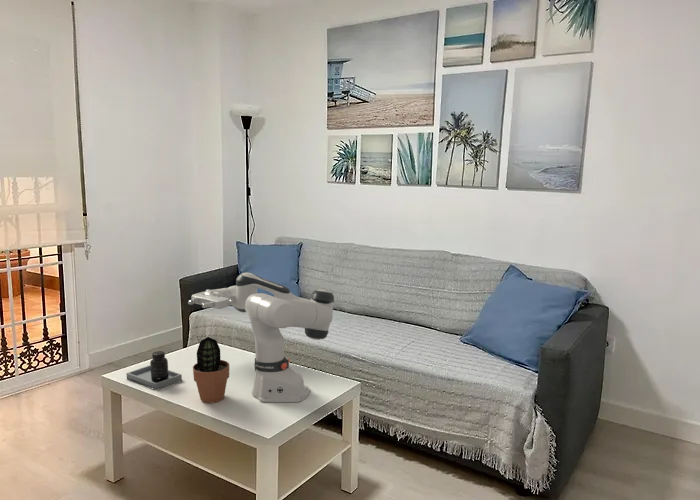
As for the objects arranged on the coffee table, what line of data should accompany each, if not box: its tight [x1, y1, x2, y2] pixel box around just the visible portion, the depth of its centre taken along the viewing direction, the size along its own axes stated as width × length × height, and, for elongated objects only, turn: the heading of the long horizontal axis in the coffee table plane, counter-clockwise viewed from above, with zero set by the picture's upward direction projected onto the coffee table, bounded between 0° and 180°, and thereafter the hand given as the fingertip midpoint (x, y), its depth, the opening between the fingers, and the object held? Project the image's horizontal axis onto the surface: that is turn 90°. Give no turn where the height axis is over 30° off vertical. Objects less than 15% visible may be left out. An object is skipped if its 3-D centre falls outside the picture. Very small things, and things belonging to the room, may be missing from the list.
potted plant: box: [192, 336, 230, 404], centre depth 205 cm, size 14×14×25 cm
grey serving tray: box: [126, 364, 183, 391], centre depth 225 cm, size 20×12×2 cm, turn 55°
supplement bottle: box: [149, 350, 169, 383], centre depth 221 cm, size 7×7×12 cm
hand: (196, 304), depth 239 cm, fingers open, 8 cm apart
